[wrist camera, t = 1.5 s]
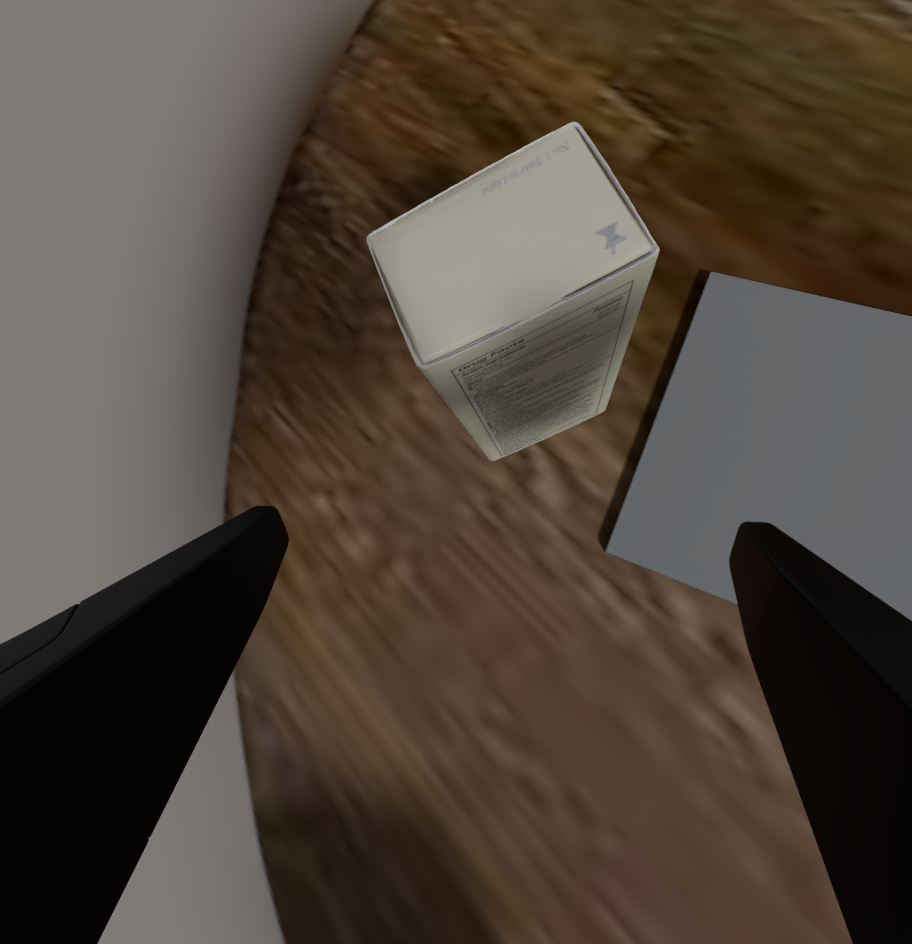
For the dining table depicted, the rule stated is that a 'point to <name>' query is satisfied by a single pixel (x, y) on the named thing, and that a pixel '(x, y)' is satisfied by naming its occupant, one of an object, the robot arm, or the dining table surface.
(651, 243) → the skincare box
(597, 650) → the dining table surface
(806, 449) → the slate mat
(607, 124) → the dining table surface
